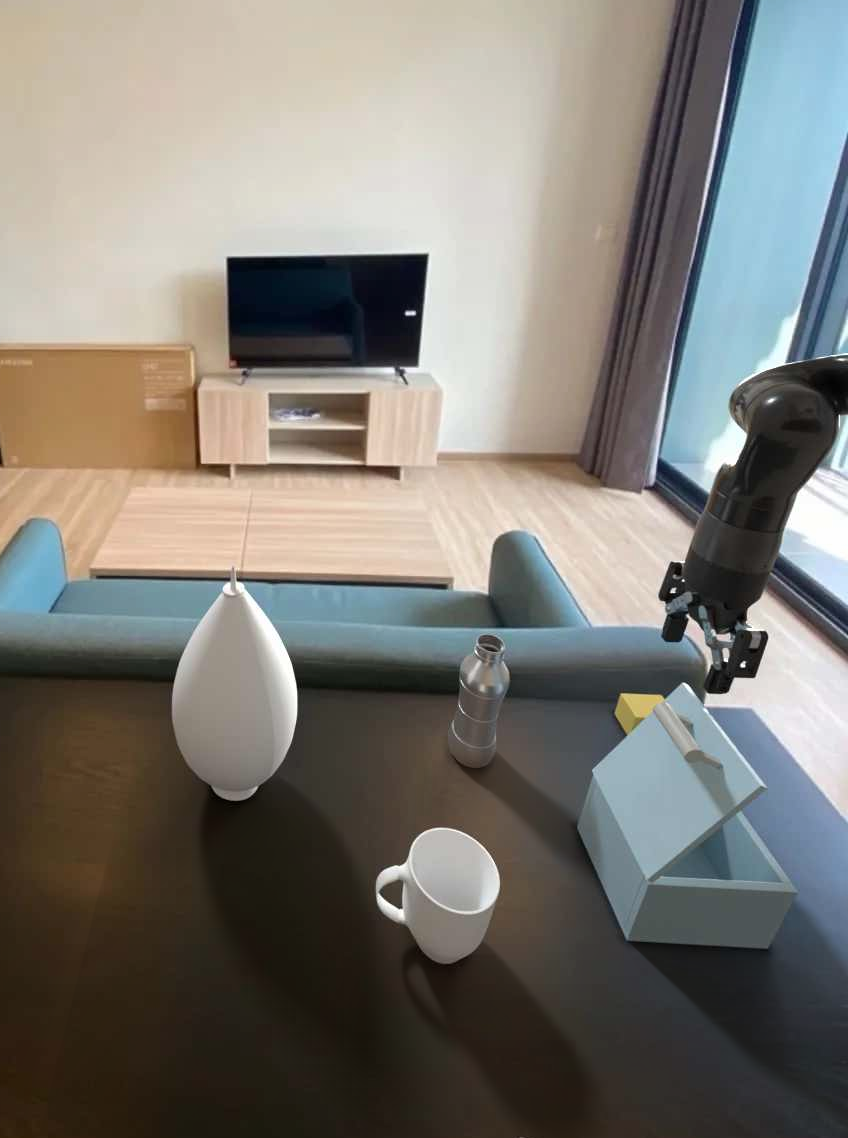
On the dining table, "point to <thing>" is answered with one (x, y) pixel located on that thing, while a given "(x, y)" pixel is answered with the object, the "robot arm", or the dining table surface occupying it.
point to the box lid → (675, 782)
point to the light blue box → (690, 884)
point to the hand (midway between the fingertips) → (690, 664)
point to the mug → (444, 893)
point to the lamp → (234, 696)
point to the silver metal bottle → (479, 702)
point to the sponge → (635, 709)
